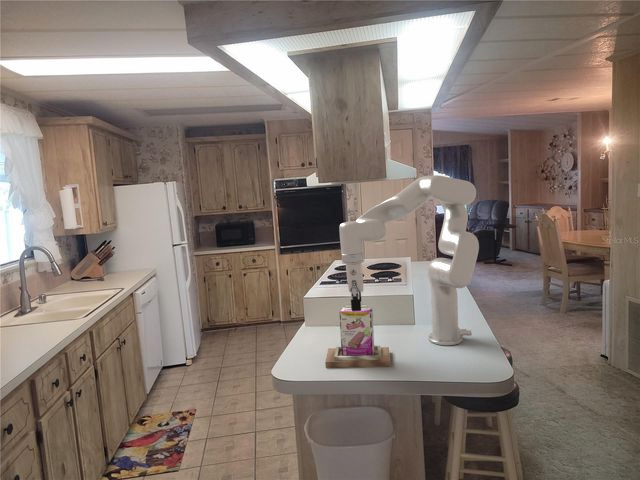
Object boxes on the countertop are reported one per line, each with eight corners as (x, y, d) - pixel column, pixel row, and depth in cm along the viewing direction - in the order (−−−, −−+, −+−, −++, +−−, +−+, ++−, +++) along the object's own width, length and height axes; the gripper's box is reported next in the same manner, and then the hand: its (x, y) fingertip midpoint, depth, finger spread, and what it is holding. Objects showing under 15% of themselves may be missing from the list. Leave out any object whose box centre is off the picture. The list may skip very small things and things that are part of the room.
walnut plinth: (388, 352, 157) (388, 343, 156) (390, 366, 145) (390, 357, 145) (328, 353, 159) (328, 345, 159) (325, 367, 147) (325, 358, 147)
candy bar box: (341, 357, 150) (338, 311, 148) (343, 351, 155) (341, 307, 153) (373, 357, 148) (371, 311, 146) (375, 352, 153) (372, 307, 151)
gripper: (363, 262, 138) (367, 313, 141) (363, 252, 155) (367, 298, 158) (340, 263, 139) (344, 314, 142) (343, 254, 156) (347, 299, 159)
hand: (356, 306), depth 150 cm, fingers open, 9 cm apart
